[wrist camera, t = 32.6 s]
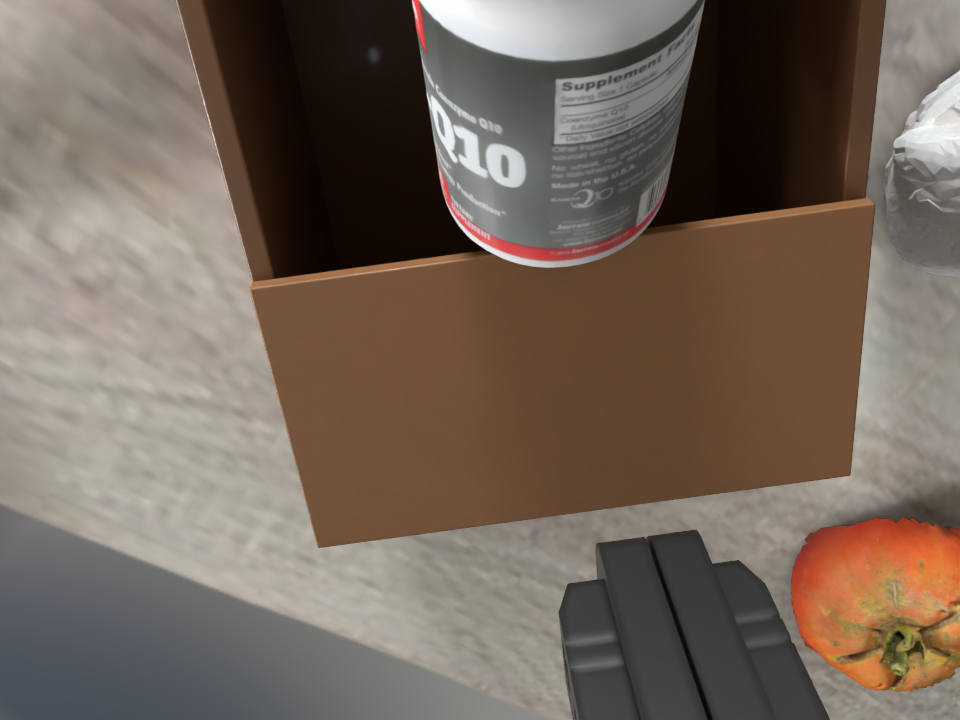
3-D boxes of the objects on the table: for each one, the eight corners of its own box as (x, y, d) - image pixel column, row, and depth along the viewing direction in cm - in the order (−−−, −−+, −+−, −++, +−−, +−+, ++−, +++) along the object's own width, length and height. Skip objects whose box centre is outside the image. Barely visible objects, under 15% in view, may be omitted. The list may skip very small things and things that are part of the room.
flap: (868, 197, 19) (876, 203, 18) (844, 466, 22) (851, 476, 22) (251, 281, 19) (248, 288, 18) (319, 538, 22) (317, 549, 22)
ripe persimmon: (876, 480, 33) (1031, 652, 30) (926, 450, 38) (1061, 594, 36) (727, 594, 37) (851, 755, 34) (790, 553, 42) (902, 689, 40)
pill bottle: (405, 150, 20) (321, -255, 12) (592, 66, 20) (619, -363, 13) (508, 314, 18) (482, -53, 10) (711, 214, 18) (825, -194, 11)
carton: (734, -189, 23) (909, -204, 15) (723, 291, 30) (839, 458, 22) (239, -121, 23) (147, -99, 15) (343, 343, 31) (318, 529, 22)
